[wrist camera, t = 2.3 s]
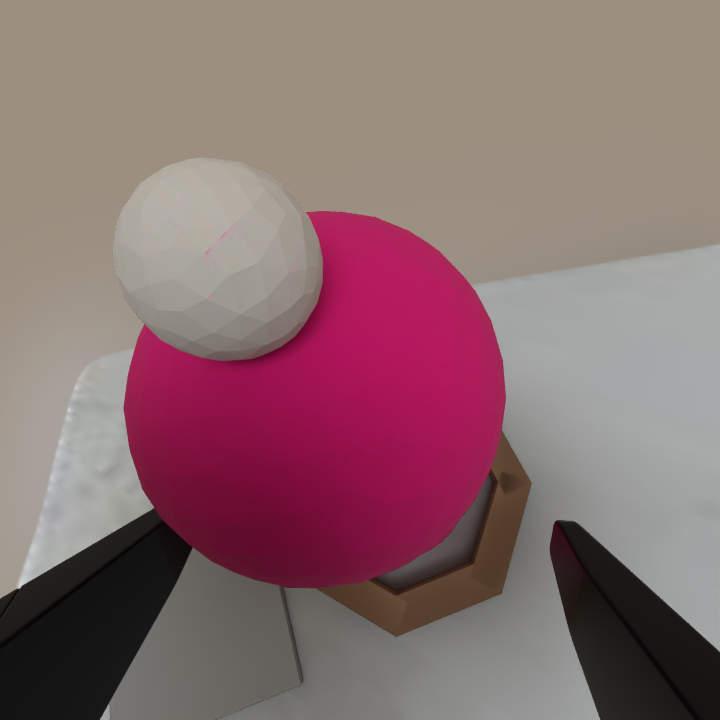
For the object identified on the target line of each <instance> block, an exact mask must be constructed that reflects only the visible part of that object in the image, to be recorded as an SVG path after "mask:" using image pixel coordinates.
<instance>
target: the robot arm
mask: <svg viewBox="0 0 720 720" xmlns="http://www.w3.org/2000/svg"><path fill="white" fill-rule="evenodd" d="M192 548H193V547H192V546H190V545H189V544H188V543H187V542H186V541H185V540H184V539H183V538H181V537H180V536H179V535H178V534H177V533H176V532H175V531H174V530H173V529H172V528H171V527H170V526H169V525H167V524H166V523H165V522H164V521H163V520H162V519H161V517H160V515H159V514H158V512H157V511H156V509H155V508H154V509H152V510H151V511H149V512H147V513H145V514H144V515H142V516H140V517H139V518H137V519H135V520H133V521H132V522H130V523H128V524H127V525H125V526H123V527H122V528H120V529H118V530H116V531H115V532H113V533H111V534H110V535H108V536H106V537H105V538H103V539H101V540H99V541H98V542H96V543H94V544H93V545H91V546H89V547H87V548H86V549H84V550H82V551H81V552H79V553H77V554H76V555H74V556H72V557H70V558H69V559H67V560H65V561H64V562H62V563H60V564H58V565H57V566H55V567H53V568H52V569H50V570H48V571H47V572H45V573H43V574H41V575H40V576H38V577H36V578H35V579H33V580H31V581H30V582H28V583H26V584H24V585H23V586H22V587H21V588H20V589H16V590H14V591H12V592H11V593H9V594H8V595H6V596H4V597H2V598H1V599H0V720H100V718H101V717H102V715H103V713H104V711H105V710H106V708H107V706H108V704H109V702H110V701H111V699H112V697H113V695H114V694H115V692H116V690H117V688H118V686H119V685H120V683H121V681H122V679H123V678H124V676H125V674H126V672H127V670H128V669H129V667H130V665H131V663H132V662H133V660H134V658H135V656H136V654H137V653H138V651H139V649H140V647H141V646H142V644H143V642H144V640H145V638H146V637H147V635H148V633H149V631H150V630H151V628H152V626H153V624H154V622H155V621H156V619H157V617H158V615H159V614H160V612H161V610H162V608H163V607H164V605H165V603H166V601H167V599H168V598H169V596H170V594H171V592H172V590H173V589H174V587H175V585H176V583H177V581H178V579H179V577H180V575H181V573H182V570H183V568H184V566H185V564H186V562H187V559H188V557H189V555H190V553H191V551H192ZM550 555H551V560H552V564H553V568H554V572H555V576H556V580H557V584H558V588H559V592H560V596H561V600H562V604H563V608H564V612H565V616H566V620H567V624H568V628H569V632H570V635H571V638H572V641H573V644H574V647H575V650H576V653H577V655H578V658H579V661H580V664H581V667H582V669H583V672H584V675H585V678H586V681H587V683H588V686H589V689H590V692H591V695H592V698H593V700H594V703H595V706H596V709H597V712H598V714H599V717H600V720H720V652H719V651H718V650H717V649H716V648H715V647H714V646H713V645H712V644H711V643H710V642H708V641H707V640H706V639H705V638H704V637H703V636H702V635H701V634H700V633H699V632H697V631H696V630H695V629H694V628H693V627H692V626H691V625H690V624H689V623H687V622H686V621H685V620H684V619H683V618H682V617H681V616H680V615H679V614H678V613H676V612H675V611H674V610H673V609H672V608H671V607H670V606H669V605H668V604H666V603H665V602H664V601H663V600H662V599H661V598H660V597H659V596H658V595H657V594H655V593H654V592H653V591H652V590H651V589H650V588H649V587H648V586H647V585H645V584H644V583H643V582H642V581H641V580H640V579H639V578H638V577H637V576H636V575H634V574H633V573H632V572H631V571H630V570H629V569H628V568H627V567H626V566H624V565H623V564H622V563H621V562H620V561H619V560H618V559H617V558H616V557H615V556H613V555H612V554H611V553H610V552H609V551H608V550H607V549H606V548H605V547H604V546H602V545H601V544H600V543H599V542H598V541H597V540H596V539H595V538H594V537H592V536H591V535H590V534H589V533H588V532H587V531H586V530H585V529H584V528H583V527H581V526H580V525H579V524H578V523H576V522H574V521H564V520H557V521H555V523H554V526H553V532H552V537H551V543H550Z"/></svg>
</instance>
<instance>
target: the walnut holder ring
mask: <svg viewBox="0 0 720 720" xmlns="http://www.w3.org/2000/svg"><path fill="white" fill-rule="evenodd" d="M489 475H490V477H491V479H492V480H493V482H494V487H493V491H492V494H491V497H490V500H489V504H488V507H487V510H486V514H485V517H484V520H483V523H482V527H481V530H480V533H479V537H478V540H477V543H476V547H475V550H474V553H473V556H472V560H471V561H470V562H468V563H465V564H463V565H460V566H458V567H455V568H453V569H451V570H448V571H446V572H443V573H441V574H438V575H436V576H433V577H431V578H429V579H426V580H424V581H421V582H419V583H416V584H414V585H412V586H409V587H407V588H404V589H402V590H399V591H396V590H395V589H393V588H391V587H389V586H387V585H386V584H384V583H382V582H380V581H379V580H377V579H375V578H372V579H369V580H367V581H364V582H362V583H356V584H348V585H341V586H333V587H325V588H316V589H318V590H320V591H321V592H323V593H325V594H326V595H328V596H330V597H331V598H333V599H335V600H336V601H338V602H340V603H341V604H343V605H344V606H346V607H348V608H349V609H351V610H353V611H354V612H356V613H358V614H359V615H361V616H363V617H364V618H366V619H368V620H369V621H371V622H372V623H374V624H376V625H377V626H379V627H381V628H382V629H384V630H386V631H387V632H389V633H391V634H392V635H394V636H396V637H397V636H399V635H402V634H404V633H407V632H409V631H412V630H414V629H416V628H419V627H421V626H424V625H426V624H429V623H431V622H433V621H436V620H438V619H441V618H443V617H446V616H448V615H451V614H453V613H455V612H458V611H460V610H463V609H465V608H468V607H470V606H472V605H475V604H477V603H480V602H482V601H485V600H487V599H489V598H492V597H494V596H497V595H499V594H502V590H503V586H504V583H505V579H506V575H507V572H508V568H509V564H510V561H511V557H512V553H513V550H514V546H515V542H516V538H517V535H518V531H519V527H520V524H521V520H522V516H523V513H524V509H525V505H526V502H527V498H528V494H529V491H530V487H531V482H530V480H529V478H528V476H527V474H526V473H525V471H524V469H523V467H522V466H521V464H520V462H519V460H518V458H517V457H516V455H515V453H514V451H513V450H512V448H511V446H510V444H509V442H508V441H507V439H506V437H505V435H504V434H503V432H502V430H501V435H500V440H499V445H498V449H497V452H496V455H495V458H494V461H493V464H492V467H491V470H490V472H489Z"/></svg>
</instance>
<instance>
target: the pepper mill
mask: <svg viewBox="0 0 720 720" xmlns="http://www.w3.org/2000/svg"><path fill="white" fill-rule="evenodd" d="M113 260H114V268H115V274H116V276H117V279H118V282H119V285H120V287H121V290H122V293H123V295H124V298H125V300H126V301H127V303H128V304H129V306H130V307H131V308H132V310H133V311H134V313H135V314H136V315H137V317H138V318H139V319H140V320H141V321H142V322H143V323H144V326H143V328H142V330H141V333H140V335H139V337H138V340H137V343H136V347H135V350H134V354H133V357H132V361H131V365H130V369H129V373H128V378H127V386H126V393H125V401H124V414H125V421H126V428H127V435H128V442H129V448H130V452H131V456H132V459H133V462H134V465H135V468H136V471H137V474H138V477H139V480H140V483H141V486H142V489H143V491H144V493H145V494H146V496H147V497H148V499H149V500H150V502H151V503H152V505H153V506H154V508H155V509H156V511H157V512H158V514H159V515H160V517H161V519H162V520H163V521H164V522H165V523H166V524H167V525H169V526H170V527H171V528H172V529H173V530H174V531H175V532H176V533H177V534H178V535H179V536H180V537H181V538H183V539H184V540H185V541H186V542H187V543H188V544H189V545H190V546H192V547H193V548H194V549H196V550H197V551H198V552H200V553H201V554H202V555H204V556H205V557H206V558H208V559H209V560H210V561H212V562H214V563H216V564H218V565H220V566H222V567H224V568H226V569H228V570H230V571H232V572H234V573H237V574H240V575H242V576H245V577H248V578H251V579H253V580H256V581H261V582H265V583H270V584H274V585H279V586H283V587H288V588H325V587H333V586H341V585H348V584H356V583H362V582H364V581H367V580H369V579H372V578H375V577H377V576H380V575H382V574H385V573H387V572H390V571H392V570H395V569H398V568H400V567H402V566H404V565H406V564H408V563H410V562H411V561H413V560H414V559H415V558H417V557H418V556H419V555H421V554H423V553H425V552H427V551H429V550H431V549H433V548H434V547H435V546H437V545H438V544H440V543H441V542H442V541H443V540H444V539H445V538H446V537H447V536H448V535H449V534H450V533H451V532H452V530H453V529H454V527H455V526H456V524H457V523H458V521H459V520H460V519H461V517H462V516H463V515H464V514H465V512H466V511H467V510H468V508H469V507H470V506H471V505H472V503H473V502H474V501H475V499H476V497H477V495H478V493H479V491H480V489H481V487H482V485H483V484H484V482H485V480H486V478H487V476H488V474H489V472H490V470H491V467H492V464H493V461H494V458H495V455H496V452H497V449H498V445H499V440H500V435H501V430H502V423H503V416H504V409H505V402H506V395H505V382H504V369H503V360H502V356H501V353H500V349H499V346H498V343H497V339H496V336H495V332H494V329H493V325H492V322H491V319H490V318H489V316H488V314H487V312H486V310H485V308H484V306H483V304H482V303H481V301H480V299H479V297H478V295H477V293H476V291H475V290H474V289H473V288H472V286H471V285H470V284H469V283H468V281H467V280H466V279H465V278H464V276H463V275H462V274H461V273H460V272H459V271H458V270H457V269H456V268H455V267H454V266H453V265H452V264H451V263H450V262H449V261H448V260H447V259H446V258H445V257H444V256H443V255H442V254H441V252H439V251H438V250H437V249H435V248H434V247H433V246H431V245H430V244H429V243H427V242H426V241H424V240H423V239H421V238H419V237H418V236H416V235H414V234H413V233H411V232H410V231H408V230H405V229H403V228H401V227H398V226H396V225H393V224H391V223H388V222H385V221H383V220H381V219H378V218H376V217H370V216H365V215H358V214H352V213H345V212H330V211H317V212H305V210H304V209H303V207H302V206H301V204H300V203H299V202H298V201H297V200H296V198H295V197H294V196H293V195H292V194H291V193H290V192H289V191H288V190H287V189H286V187H285V186H283V185H282V184H280V183H279V182H277V181H276V180H274V179H273V178H272V177H270V176H269V175H268V174H266V173H264V172H261V171H259V170H257V169H254V168H252V167H249V166H247V165H245V164H243V163H240V162H236V161H229V160H221V159H214V158H192V159H189V160H185V161H182V162H179V163H175V164H172V165H168V166H166V167H164V168H163V169H161V170H160V171H158V172H157V173H155V174H153V175H152V176H150V177H149V178H147V179H146V180H144V181H143V182H141V183H140V184H139V186H138V188H137V189H136V190H135V192H134V193H133V195H132V196H131V198H130V199H129V201H128V202H127V204H126V205H125V207H124V208H123V210H122V211H121V214H120V216H119V219H118V221H117V223H116V230H115V238H114V246H113Z"/></svg>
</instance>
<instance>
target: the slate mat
mask: <svg viewBox="0 0 720 720" xmlns="http://www.w3.org/2000/svg"><path fill="white" fill-rule="evenodd" d="M302 682H303V679H302V674H301V670H300V665H299V661H298V656H297V652H296V647H295V643H294V638H293V634H292V629H291V625H290V620H289V616H288V611H287V607H286V602H285V598H284V593H283V588H282V586H279V585H274V584H270V583H265V582H261V581H256V580H253V579H251V578H248V577H245V576H242V575H240V574H237V573H234V572H232V571H230V570H228V569H226V568H224V567H222V566H220V565H218V564H216V563H214V562H212V561H210V560H209V559H208V558H206V557H205V556H204V555H202V554H201V553H200V552H198V551H197V550H196V549H194V548H192V551H191V553H190V555H189V557H188V559H187V562H186V564H185V566H184V568H183V570H182V573H181V575H180V577H179V579H178V581H177V583H176V585H175V587H174V589H173V590H172V592H171V594H170V596H169V598H168V599H167V601H166V603H165V605H164V607H163V608H162V610H161V612H160V614H159V615H158V617H157V619H156V621H155V622H154V624H153V626H152V628H151V630H150V631H149V633H148V635H147V637H146V638H145V640H144V642H143V644H142V646H141V647H140V649H139V651H138V653H137V654H136V656H135V658H134V660H133V662H132V663H131V665H130V667H129V669H128V670H127V672H126V674H125V676H124V678H123V679H122V681H121V683H120V685H119V686H118V688H117V690H116V692H115V694H114V695H113V697H112V699H111V701H110V720H217V719H219V718H221V717H224V716H226V715H229V714H231V713H234V712H236V711H238V710H241V709H243V708H246V707H248V706H251V705H253V704H256V703H258V702H260V701H263V700H265V699H268V698H270V697H273V696H275V695H277V694H280V693H282V692H285V691H287V690H290V689H292V688H295V687H297V686H299V685H301V684H302Z"/></svg>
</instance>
